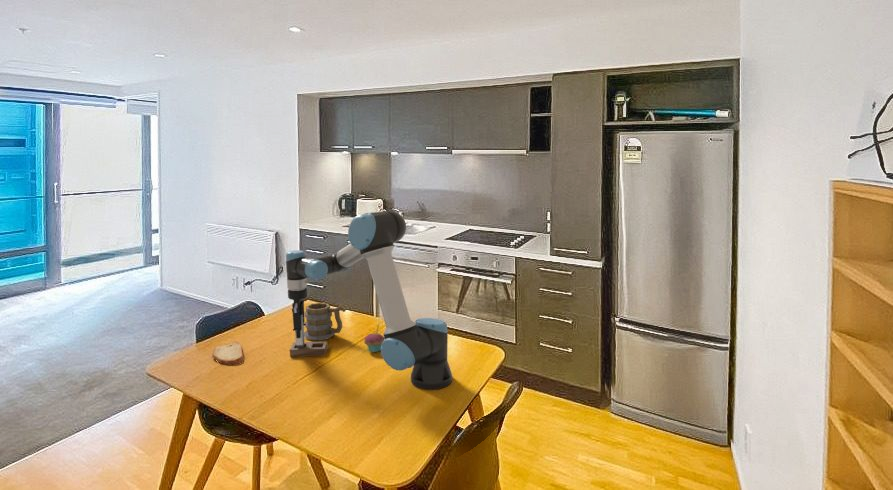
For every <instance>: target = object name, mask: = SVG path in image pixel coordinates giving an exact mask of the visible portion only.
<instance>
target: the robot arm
mask: <svg viewBox="0 0 893 490" xmlns="http://www.w3.org/2000/svg"><path fill="white" fill-rule="evenodd" d="M347 231H348V232H347V233H348V235H347V237H348V240H349V244H348V245H346V246H344V247H343V248H341V249H340V250H338V251H337V252H335V253H334V254H329V255H324V256H320V257H315V258H308V257H306V252H305V251H304V250H299V249H295V250H290V251H287V252H286V254H285V266H286V268H285V269H286V283H287V284H286V285H287V298H288V299H289V300H292V301H293V303H292V308H291V311H292V323H293V324H292V325H293V328H292V331H293V332H294V337H295V343H296V345H303V336H302V328H301V314H302V315H303V329H304V330H305V325H306V323H305V322H306V321H305V299H306V298H307V297H308V288H307V284H308V283H309V282H308V281H309V280H308V279H311V280H318V281H319V280H323V279H324V278H325V277H326V276H328V275H332V274H335V273H336V274H337V273H340V272H341V273H342V272H345V271H347V270H350V269H351V268H352V266H353V265H354V264H355V263H357V262H359V261H361V260H362V259H365V260H367V265H368V268H369V271H370V275H371V278H372V282H373V286H374V288H375V293H376V296H377V300H378V302H379V303H378V304H379V307H380V310H381V313H382V317H383V321H384V324H385V329H384V331H383V332H382V334H383V337H384V338H385V339H384V341H383V342H382V344H381V349H380V353H381V357H382V359H383V361H384V362H385V363H386V365H388V367H390V368H391V369H393V370H395V371H399V372H400V371H401V372H402V371H405V370H408V369H411V368H412V371H411V373H410V383H411V384H412V386H414V387H416V388H418V389H421V390H429V391H430V390H431V391H432V390H441V389H444V388H447V387H448V386H450V385H451V384H452V382H453V373H452V370H451V367H450V364H449V360H448V336H449V335H448V333H449V331H448V324H447V323H446V321H444V320H442V319H439V318H435V317H434V318H433V317H422V318H421V317H420V318H417V319H416V320H415V321H413V320H411V316H410V314H409V310H408V307H407V303H406V299H405V296H404V292H403V289H402V285H401V282H400V279H399V275H398V271H397V269H396V264H395V261H394V258H393V254H392V251H393V250H394V248H395V245H394V244H395V243H397V242H399V241H400V240H402V239H404V238H403V237H404V236H405V234H406V231H407V223H406V221H405V219H404V216H402V215H401V214H400V213H398V212H396V211H394V210H383V211H375V212H365V213H361V214H358V215H356V216H354V217H353V219H351V221H350V224H349V226H348V230H347ZM305 340H306V338H304V342H306V341H305Z"/></svg>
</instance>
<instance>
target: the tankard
mask: <svg viewBox="0 0 893 490" xmlns="http://www.w3.org/2000/svg"><path fill="white" fill-rule="evenodd" d="M346 311H347V308H346V307H344V306H343V305H340V306H338V307H331V305H330V304H329V303H326V302H316V303H315V302H314V303H309V304H308V305H307V306H305V310H304V318H305V319H306V321H305V322H304V323H306V325H305V326H304V328H306V331H304V338H305V340H309V341H314V342H320V341H323V340H328V339H330V338H332V337H333V336H335V334H340V333H341V331H342V329H343V321H342V318H341V315H340V314H341V313H340V312H343V313H345V312H346ZM333 313H334V319H335V321H336V326H337V327H336V328H334V327H333V320H332V318H331V317H332V316H333Z"/></svg>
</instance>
